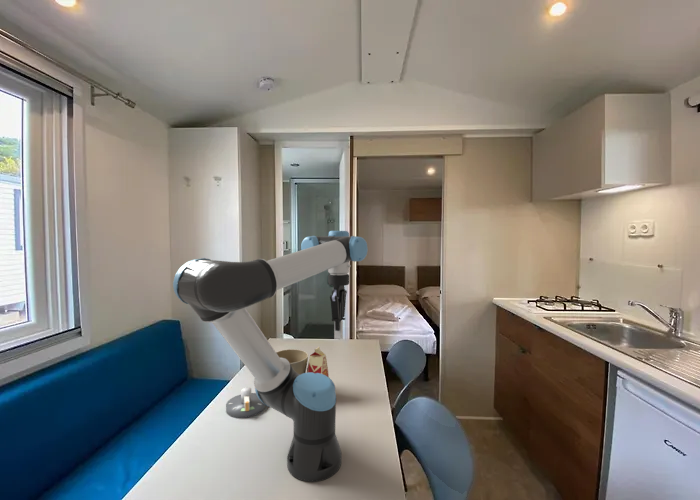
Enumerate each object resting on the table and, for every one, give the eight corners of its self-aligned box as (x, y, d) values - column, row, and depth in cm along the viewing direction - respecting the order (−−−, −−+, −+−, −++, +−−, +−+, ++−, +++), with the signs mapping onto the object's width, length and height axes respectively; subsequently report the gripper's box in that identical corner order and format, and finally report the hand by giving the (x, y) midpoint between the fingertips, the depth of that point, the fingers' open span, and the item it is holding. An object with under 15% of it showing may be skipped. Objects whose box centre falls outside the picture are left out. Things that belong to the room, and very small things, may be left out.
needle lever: (241, 399, 121) (240, 388, 121) (251, 398, 122) (251, 386, 122) (241, 412, 113) (241, 399, 112) (252, 410, 114) (252, 397, 114)
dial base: (252, 420, 111) (252, 414, 111) (217, 414, 115) (217, 408, 115) (272, 400, 125) (272, 395, 125) (241, 395, 129) (240, 390, 128)
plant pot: (268, 389, 134) (268, 351, 134) (304, 384, 139) (304, 347, 138) (271, 407, 120) (271, 364, 119) (311, 401, 125) (311, 360, 124)
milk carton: (325, 403, 123) (325, 351, 122) (301, 401, 125) (302, 349, 124) (331, 392, 132) (331, 343, 131) (309, 390, 134) (309, 342, 133)
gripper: (343, 276, 109) (343, 345, 110) (353, 272, 122) (353, 334, 123) (322, 275, 111) (322, 343, 112) (334, 271, 124) (334, 332, 125)
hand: (338, 338), depth 118 cm, fingers closed
